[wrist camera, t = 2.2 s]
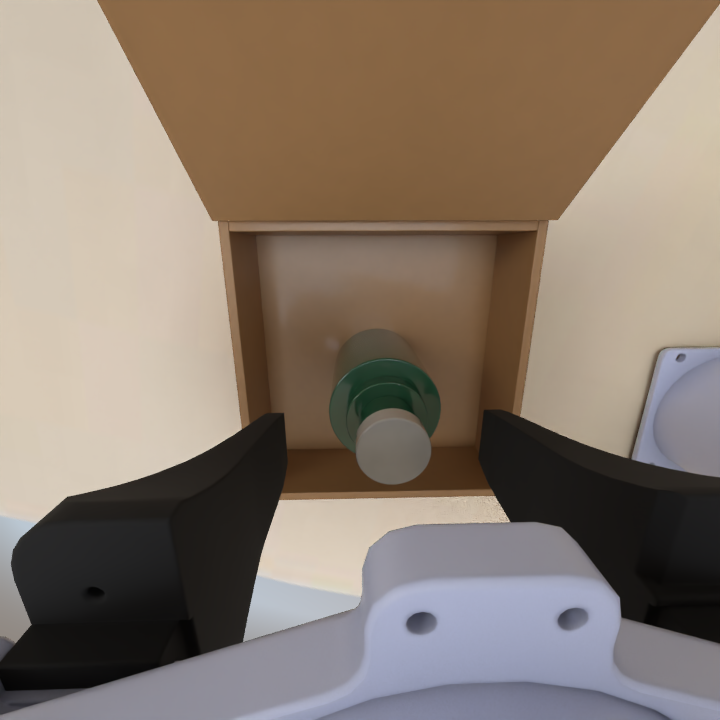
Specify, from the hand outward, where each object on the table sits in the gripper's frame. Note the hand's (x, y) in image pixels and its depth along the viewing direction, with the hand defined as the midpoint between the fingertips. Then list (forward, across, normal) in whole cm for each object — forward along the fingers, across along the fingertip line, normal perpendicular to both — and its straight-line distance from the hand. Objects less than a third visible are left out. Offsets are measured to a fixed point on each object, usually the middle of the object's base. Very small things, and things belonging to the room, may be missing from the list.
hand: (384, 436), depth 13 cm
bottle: (+7, 0, 0) cm, 7 cm away
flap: (0, 0, -9) cm, 9 cm away
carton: (+8, 0, -1) cm, 8 cm away
